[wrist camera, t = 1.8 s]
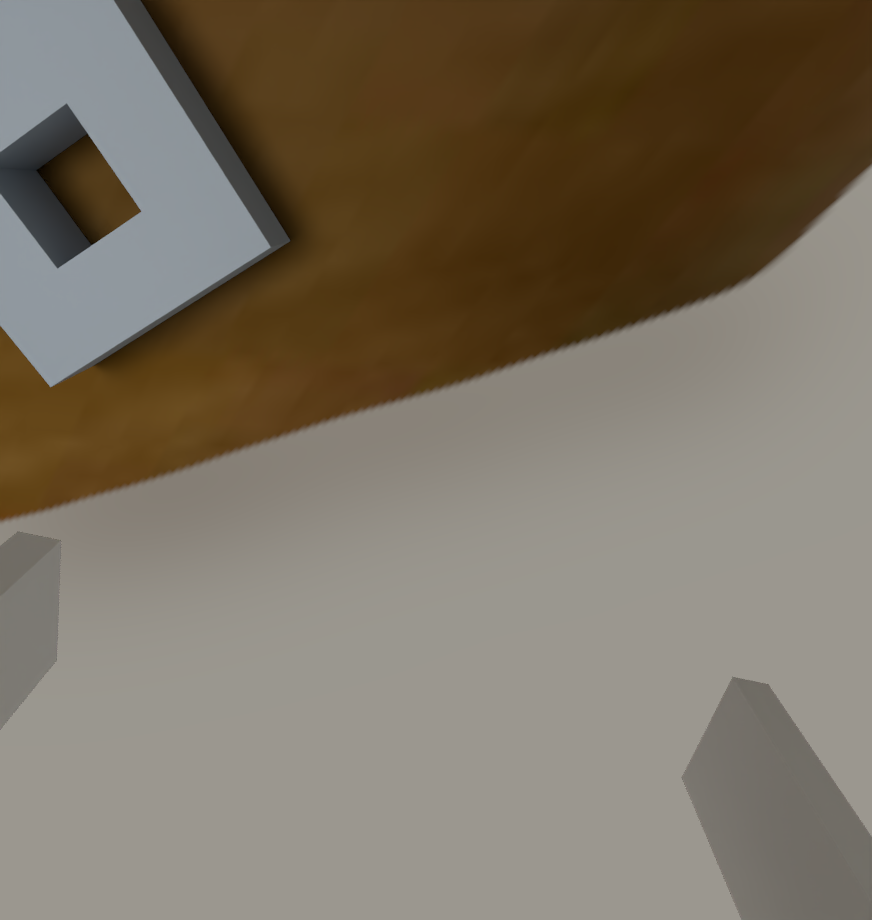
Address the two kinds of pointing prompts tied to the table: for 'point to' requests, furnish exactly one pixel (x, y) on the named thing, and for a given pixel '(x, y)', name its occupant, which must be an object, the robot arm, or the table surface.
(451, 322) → the table surface
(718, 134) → the table surface
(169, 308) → the hole block
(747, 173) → the table surface
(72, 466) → the table surface
